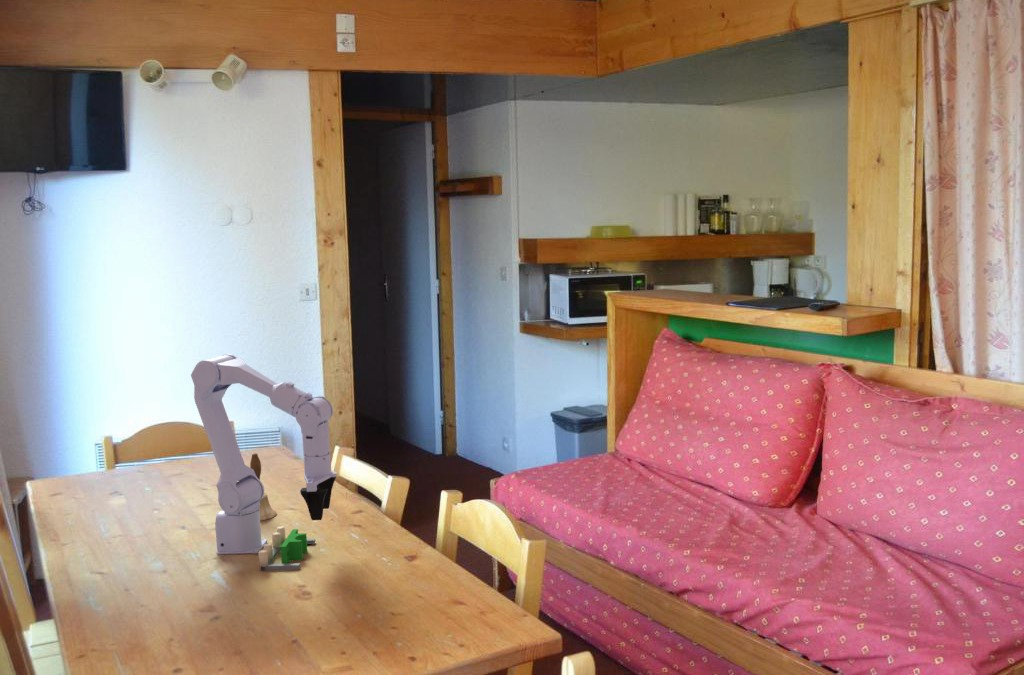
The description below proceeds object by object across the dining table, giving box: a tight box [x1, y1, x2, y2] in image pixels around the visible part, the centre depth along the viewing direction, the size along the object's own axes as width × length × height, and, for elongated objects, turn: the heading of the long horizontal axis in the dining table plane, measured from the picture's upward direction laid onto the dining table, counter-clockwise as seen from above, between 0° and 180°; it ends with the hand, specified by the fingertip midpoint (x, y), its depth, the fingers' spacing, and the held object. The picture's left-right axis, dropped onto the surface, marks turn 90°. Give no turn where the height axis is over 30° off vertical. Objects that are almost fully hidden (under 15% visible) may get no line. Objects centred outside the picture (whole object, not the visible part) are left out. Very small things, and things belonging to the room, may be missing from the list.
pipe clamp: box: [280, 528, 308, 564], centre depth 213 cm, size 11×4×5 cm, turn 179°
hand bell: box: [249, 452, 278, 522], centre depth 241 cm, size 8×8×16 cm
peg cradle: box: [258, 525, 316, 572], centre depth 213 cm, size 8×17×4 cm, turn 179°
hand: (320, 513), depth 212 cm, fingers open, 7 cm apart
